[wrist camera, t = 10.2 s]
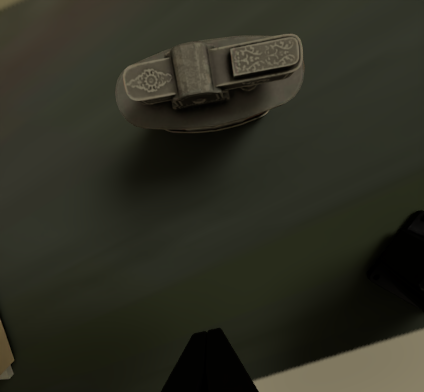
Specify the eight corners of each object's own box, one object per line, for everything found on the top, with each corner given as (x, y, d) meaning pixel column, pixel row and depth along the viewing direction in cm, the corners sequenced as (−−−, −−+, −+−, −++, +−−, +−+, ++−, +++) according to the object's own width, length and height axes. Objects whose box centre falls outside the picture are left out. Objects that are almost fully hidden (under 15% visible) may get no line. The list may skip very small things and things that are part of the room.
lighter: (163, 140, 19) (98, 141, 9) (153, 92, 18) (71, 35, 8) (273, 121, 18) (333, 99, 8) (267, 70, 17) (326, -19, 8)
